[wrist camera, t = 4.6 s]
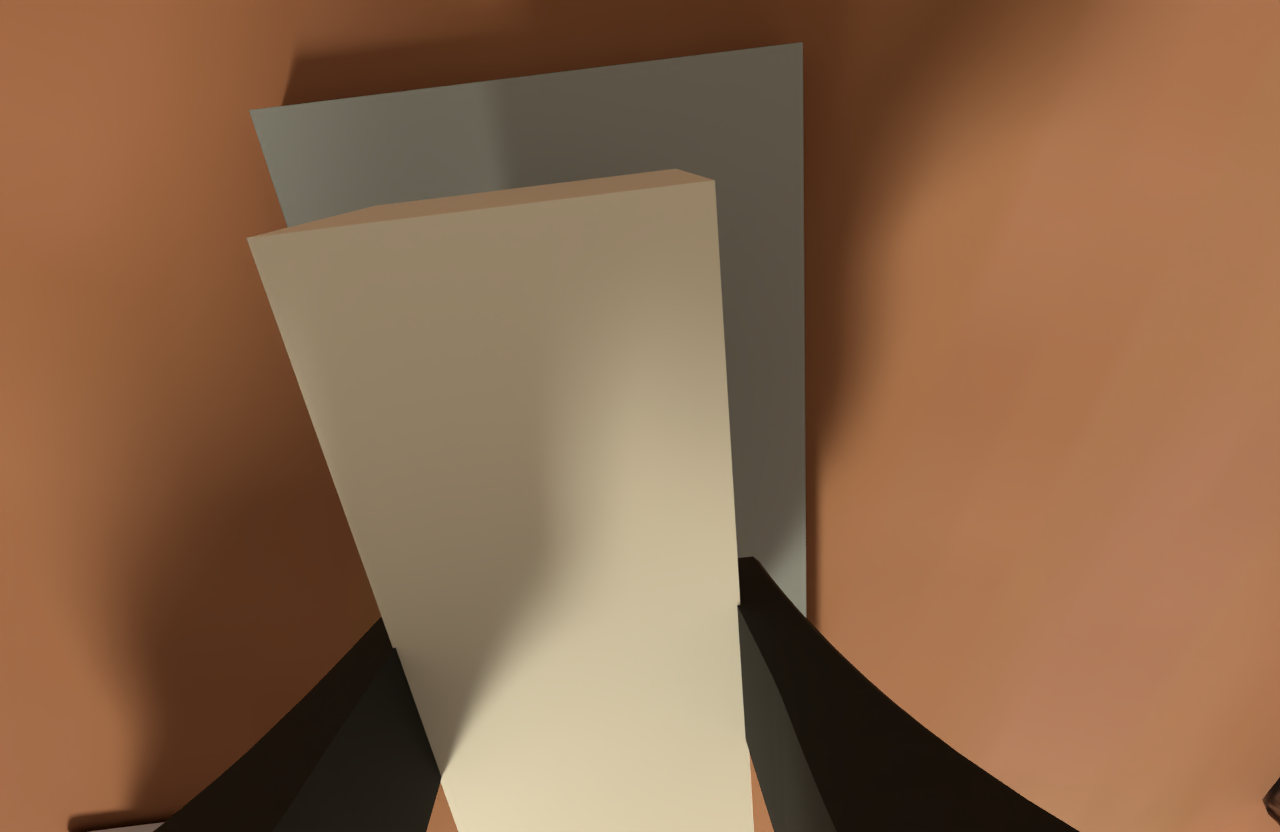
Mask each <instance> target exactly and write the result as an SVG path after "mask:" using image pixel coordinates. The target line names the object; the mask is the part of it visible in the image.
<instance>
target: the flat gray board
mask: <svg viewBox="0 0 1280 832" xmlns="http://www.w3.org/2000/svg"><path fill="white" fill-rule="evenodd" d="M249 111H250V115H251V118H252V121H253V124H254V127H255V130H256V133H257V136H258V139H259V142H260V145H261V148H262V151H263V154H264V157H265V160H266V163H267V166H268V169H269V172H270V175H271V178H272V181H273V184H274V187H275V190H276V194H277V197H278V200H279V203H280V206H281V209H282V212H283V215H284V218H285V221H286V224H287V227H292V226H296V225H300V224H304V223H308V222H312V221H316V220H320V219H324V218H328V217H332V216H336V215H340V214H344V213H348V212H352V211H356V210H360V209H364V208H368V207H372V206H376V205H384V204H393V203H401V202H409V201H417V200H425V199H433V198H441V197H449V196H457V195H466V194H474V193H482V192H490V191H498V190H506V189H514V188H522V187H531V186H539V185H547V184H555V183H563V182H571V181H579V180H587V179H595V178H604V177H612V176H620V175H628V174H636V173H644V172H652V171H660V170H669V169H679V170H682V171H686V172H689V173H692V174H696V175H699V176H702V177H706V178H709V179H712V180H715V190H716V207H717V224H718V240H719V257H720V274H721V290H722V307H723V324H724V340H725V357H726V374H727V390H728V407H729V424H730V440H731V457H732V474H733V490H734V507H735V524H736V540H737V557H738V558H743V557H751V556H753V557H754V558H756V559H757V560H758V561H759V562H760V563H761V564H762V566H763V567H764V568H765V570H766V571H767V572H768V574H769V575H770V576H771V578H772V579H773V580H774V581H775V583H776V584H777V585H778V586H779V587H780V589H781V590H782V591H783V592H784V593H785V595H786V596H787V597H788V598H789V599H790V600H791V602H792V603H793V604H794V605H795V606H796V607H797V609H798V610H799V611H800V612H801V613H802V614H803V615H804V616H805V617H806V473H805V308H804V142H803V42H799V43H791V44H783V45H775V46H767V47H759V48H751V49H742V50H734V51H726V52H718V53H710V54H702V55H694V56H685V57H677V58H669V59H661V60H653V61H645V62H637V63H629V64H620V65H612V66H604V67H596V68H588V69H580V70H572V71H564V72H555V73H547V74H539V75H531V76H523V77H515V78H507V79H498V80H490V81H482V82H474V83H466V84H458V85H450V86H442V87H433V88H425V89H417V90H409V91H401V92H393V93H385V94H377V95H368V96H360V97H352V98H344V99H336V100H328V101H320V102H311V103H303V104H295V105H287V106H279V107H271V108H263V109H255V110H249Z"/></svg>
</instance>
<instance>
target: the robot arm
mask: <svg viewBox="0 0 1280 832" xmlns="http://www.w3.org/2000/svg"><path fill="white" fill-rule="evenodd" d="M738 574H739V590H740V605H737V611H738V627H739V643H740V659H741V675H742V691H743V706H744V722H745V738H746V742H747V746H748V749H749V752H750V755H751V759H752V762H753V765H754V768H755V771H756V775H757V778H758V781H759V784H760V788H761V791H762V794H763V797H764V800H765V804H766V807H767V810H768V813H769V816H770V820H771V823H772V826H773V829H774V832H1079V831H1078V830H1076V829H1074V828H1073V827H1071V826H1069V825H1068V824H1066V823H1065V822H1063V821H1061V820H1060V819H1058V818H1056V817H1055V816H1053V815H1052V814H1050V813H1048V812H1047V811H1045V810H1043V809H1042V808H1040V807H1038V806H1037V805H1035V804H1034V803H1032V802H1030V801H1029V800H1027V799H1026V798H1024V797H1023V796H1021V795H1020V794H1018V793H1017V792H1015V791H1014V790H1012V789H1011V788H1009V787H1008V786H1006V785H1005V784H1004V783H1002V782H1001V781H999V780H998V779H996V778H995V777H993V776H992V775H990V774H989V773H987V772H986V771H984V770H983V769H982V768H980V767H979V766H977V765H976V764H974V763H973V762H971V761H970V760H968V759H967V758H965V757H964V756H962V755H961V754H960V753H958V752H957V751H955V750H954V749H953V748H951V747H950V746H949V745H948V744H946V743H945V742H944V741H942V740H941V739H940V738H938V737H937V736H936V735H934V734H933V733H932V732H930V731H929V730H928V729H926V728H925V727H924V726H923V725H921V724H920V723H919V722H918V721H916V720H915V719H914V718H913V717H911V716H910V715H909V714H908V713H907V712H905V711H904V710H903V709H902V708H900V707H899V706H898V705H897V704H895V703H894V702H893V701H892V700H891V699H890V698H888V697H887V696H886V695H885V694H884V693H883V692H881V691H880V690H879V689H878V688H877V687H876V686H875V685H874V684H872V683H871V682H870V681H869V680H868V679H867V678H866V677H865V676H864V675H863V674H862V673H860V672H859V671H858V670H857V669H856V668H855V667H854V666H853V665H852V664H851V663H850V662H849V661H848V660H847V659H846V658H844V657H843V656H842V655H841V654H840V653H839V652H838V651H837V650H836V649H835V648H834V647H833V646H832V645H831V644H830V643H829V642H828V641H827V639H826V638H825V637H824V636H823V635H822V634H821V633H820V632H819V631H818V630H817V629H816V628H815V627H814V626H813V625H812V624H811V623H810V622H809V621H808V620H807V618H806V617H805V616H804V615H803V614H802V613H801V612H800V611H799V610H798V609H797V607H796V606H795V605H794V604H793V603H792V602H791V600H790V599H789V598H788V597H787V596H786V595H785V593H784V592H783V591H782V590H781V589H780V587H779V586H778V585H777V584H776V583H775V581H774V580H773V579H772V578H771V576H770V575H769V574H768V572H767V571H766V570H765V568H764V567H763V566H762V564H761V563H760V562H759V561H758V560H757V559H756V558H754V557H753V556H751V557H743V558H738ZM441 778H442V777H441V774H440V771H439V768H438V766H437V763H436V760H435V757H434V754H433V751H432V749H431V746H430V743H429V740H428V737H427V734H426V732H425V729H424V726H423V723H422V720H421V718H420V715H419V712H418V709H417V706H416V703H415V701H414V698H413V695H412V692H411V689H410V687H409V684H408V681H407V678H406V675H405V672H404V670H403V667H402V664H401V661H400V658H399V656H398V653H397V650H396V648H393V647H392V644H391V641H390V639H389V636H388V633H387V630H386V627H385V625H384V622H383V619H382V617H381V618H380V619H379V620H378V621H377V622H376V623H375V624H374V625H373V626H372V627H371V628H370V629H369V630H368V632H367V633H366V634H365V635H364V636H363V637H362V638H361V639H360V640H359V641H358V642H357V643H356V644H355V645H354V646H353V647H352V649H351V650H350V651H349V652H348V653H347V654H346V655H345V656H344V657H343V658H342V659H341V660H340V661H339V662H338V663H337V664H336V665H335V666H334V667H333V668H332V669H331V670H330V671H329V672H328V674H327V675H326V676H325V677H324V678H323V679H322V680H321V681H320V682H319V683H318V684H317V685H316V686H315V687H314V688H313V689H312V690H311V691H310V692H309V693H308V694H307V695H306V696H305V697H304V698H303V699H302V700H301V701H300V702H299V703H298V704H297V705H296V706H295V707H294V708H293V709H292V710H291V711H290V712H288V713H287V714H286V715H285V716H284V717H283V718H282V719H281V720H280V721H279V722H278V723H277V724H276V725H275V726H274V727H273V728H272V729H271V730H270V731H269V732H268V733H267V734H266V735H265V736H264V737H262V738H261V739H260V740H259V741H258V742H257V743H256V744H255V745H254V746H253V747H252V748H251V749H250V750H249V751H248V752H247V753H246V754H244V755H243V756H242V757H241V758H240V759H239V760H238V761H237V762H236V763H234V764H233V765H232V766H231V767H230V768H229V769H228V770H226V771H225V772H224V773H223V774H222V775H221V776H220V777H219V778H217V779H216V780H215V781H214V782H213V783H212V784H210V785H209V786H208V787H207V788H206V789H204V790H203V791H202V792H201V793H200V794H198V795H197V796H196V797H195V798H194V799H192V800H191V801H190V802H189V803H188V804H186V805H185V806H184V807H183V808H182V809H181V810H179V811H178V812H177V813H176V814H174V815H173V816H172V817H171V818H169V819H168V820H167V821H166V822H161V823H153V824H145V825H137V826H129V827H121V828H113V829H105V830H97V831H89V832H426V830H427V827H428V823H429V820H430V816H431V813H432V809H433V806H434V802H435V799H436V795H437V792H438V788H439V785H440V781H441Z"/></svg>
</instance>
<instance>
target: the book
mask: <svg viewBox="0 0 1280 832" xmlns="http://www.w3.org/2000/svg"><path fill="white" fill-rule="evenodd" d="M1262 800H1263V802H1264V805H1265V807H1266V809H1267V812H1268V814H1269V815H1270V816H1271V817H1272V818H1273V819H1274V820H1275V821H1276V822H1277V823H1278V824H1279V825H1280V778H1279V779H1278V780H1277V782H1276V783H1275V784H1274V785H1273V787H1272V788H1271V789H1270V790H1269V792H1268V793H1267V794H1266V796H1265V797H1264V798H1263V799H1262Z"/></svg>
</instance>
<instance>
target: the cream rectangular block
mask: <svg viewBox="0 0 1280 832" xmlns="http://www.w3.org/2000/svg"><path fill="white" fill-rule="evenodd" d="M247 241H248V244H249V247H250V249H251V252H252V255H253V258H254V261H255V263H256V266H257V269H258V272H259V275H260V277H261V280H262V283H263V286H264V289H265V291H266V294H267V297H268V300H269V303H270V305H271V308H272V311H273V314H274V317H275V319H276V322H277V325H278V328H279V331H280V333H281V336H282V339H283V342H284V345H285V347H286V350H287V353H288V356H289V359H290V361H291V364H292V367H293V370H294V373H295V375H296V378H297V381H298V384H299V387H300V389H301V392H302V395H303V398H304V401H305V403H306V406H307V409H308V412H309V415H310V417H311V420H312V423H313V426H314V429H315V431H316V434H317V437H318V440H319V443H320V445H321V448H322V451H323V454H324V457H325V459H326V462H327V465H328V468H329V471H330V473H331V476H332V479H333V482H334V485H335V487H336V490H337V493H338V496H339V499H340V501H341V504H342V507H343V510H344V513H345V515H346V518H347V521H348V524H349V527H350V529H351V532H352V535H353V538H354V541H355V543H356V546H357V549H358V552H359V555H360V557H361V560H362V563H363V566H364V569H365V571H366V574H367V577H368V580H369V583H370V585H371V588H372V591H373V594H374V597H375V599H376V602H377V605H378V608H379V611H380V613H381V616H382V619H383V622H384V625H385V627H386V630H387V633H388V636H389V639H390V641H391V644H392V647H393V648H396V650H397V653H398V656H399V658H400V661H401V664H402V667H403V670H404V672H405V675H406V678H407V681H408V684H409V687H410V689H411V692H412V695H413V698H414V701H415V703H416V706H417V709H418V712H419V715H420V718H421V720H422V723H423V726H424V729H425V732H426V734H427V737H428V740H429V743H430V746H431V749H432V751H433V754H434V757H435V760H436V763H437V766H438V768H439V771H440V774H441V777H442V778H441V784H442V787H443V790H444V793H445V795H446V798H447V801H448V804H449V807H450V809H451V812H452V815H453V818H454V821H455V823H456V826H457V829H458V832H754V824H753V807H752V790H751V774H750V757H749V749H748V746H747V742H746V738H745V722H744V706H743V691H742V675H741V659H740V643H739V627H738V611H737V605H740V590H739V574H738V557H737V540H736V524H735V507H734V490H733V474H732V457H731V440H730V424H729V407H728V390H727V374H726V357H725V340H724V324H723V307H722V290H721V274H720V257H719V240H718V224H717V207H716V190H715V180H712V179H709V178H706V177H702V176H699V175H696V174H692V173H689V172H686V171H682V170H679V169H669V170H660V171H652V172H644V173H636V174H628V175H620V176H612V177H604V178H595V179H587V180H579V181H571V182H563V183H555V184H547V185H539V186H531V187H522V188H514V189H506V190H498V191H490V192H482V193H474V194H466V195H457V196H449V197H441V198H433V199H425V200H417V201H409V202H401V203H393V204H384V205H376V206H372V207H368V208H364V209H360V210H356V211H352V212H348V213H344V214H340V215H336V216H332V217H328V218H324V219H320V220H316V221H312V222H308V223H304V224H300V225H296V226H292V227H288V228H284V229H280V230H276V231H272V232H268V233H264V234H260V235H256V236H252V237H248V238H247Z"/></svg>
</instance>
